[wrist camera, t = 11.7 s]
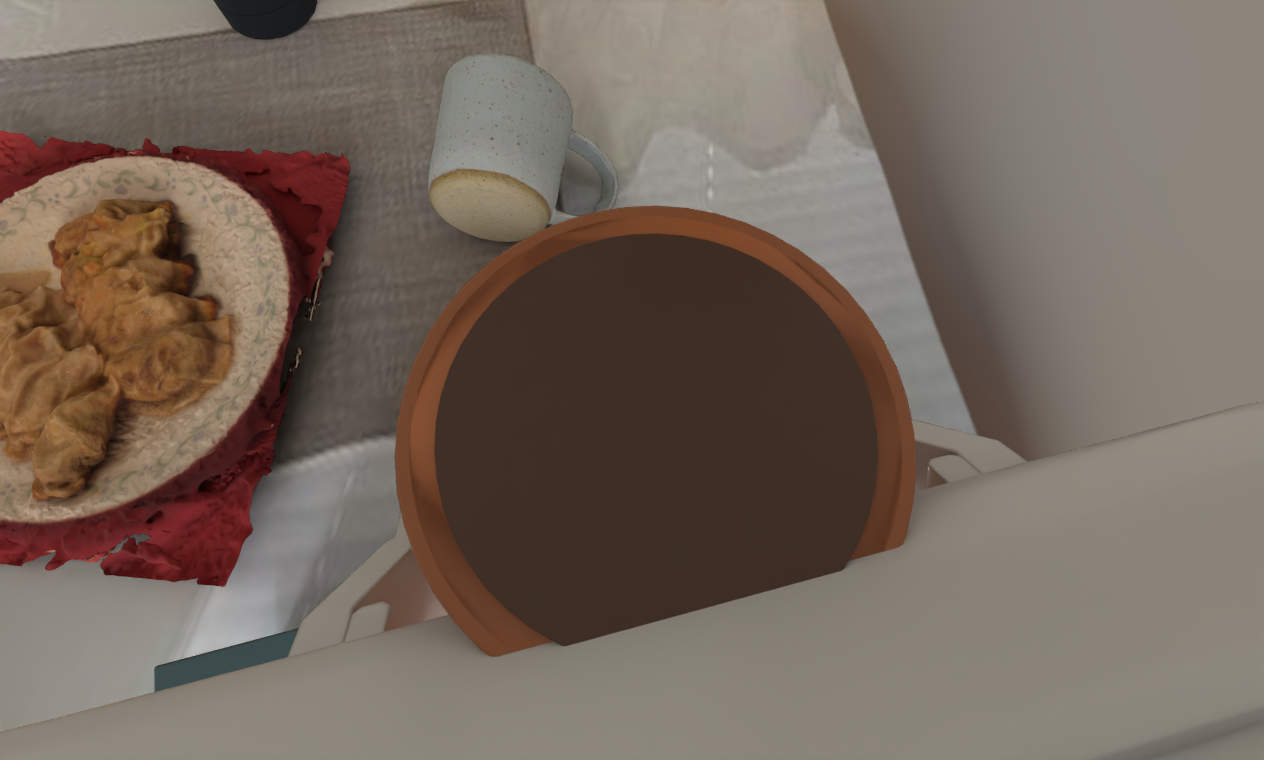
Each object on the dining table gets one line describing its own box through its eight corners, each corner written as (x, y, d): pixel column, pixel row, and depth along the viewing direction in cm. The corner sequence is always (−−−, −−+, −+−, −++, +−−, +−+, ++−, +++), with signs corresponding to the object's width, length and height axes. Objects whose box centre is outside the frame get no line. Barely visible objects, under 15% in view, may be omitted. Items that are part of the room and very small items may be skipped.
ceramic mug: (441, 246, 38) (401, 166, 31) (462, 137, 41) (430, 40, 34) (611, 259, 38) (611, 182, 31) (621, 150, 41) (624, 56, 34)
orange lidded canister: (776, 604, 19) (1011, 631, 7) (554, 665, 18) (431, 797, 7) (712, 394, 21) (816, 160, 9) (511, 442, 20) (362, 256, 9)
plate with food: (364, 174, 40) (340, 137, 37) (242, 588, 31) (197, 585, 28) (11, 147, 41) (-42, 107, 38) (-206, 543, 32) (-299, 536, 29)
